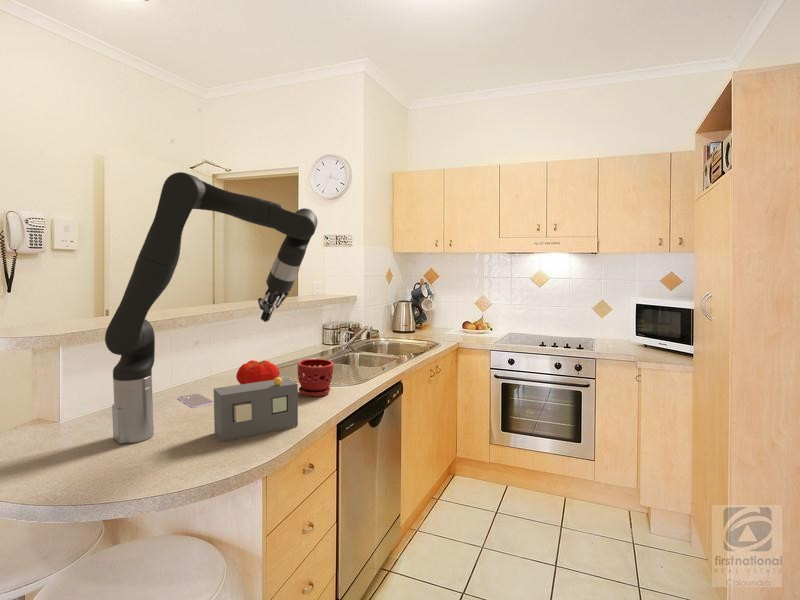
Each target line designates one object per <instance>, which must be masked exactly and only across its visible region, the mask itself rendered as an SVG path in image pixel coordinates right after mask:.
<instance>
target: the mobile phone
mask: <svg viewBox="0 0 800 600" xmlns="http://www.w3.org/2000/svg"><path fill="white" fill-rule="evenodd" d="M178 399H179V400H178ZM177 400H178V401H180V400H181V401H180V402H182V403H184V404H185V403H186V404H185V405H187V406H189V407H190V406H191V407H190V408H192V409H196V408H197V407H198V408H202V407H206V406H207V407H208V406H211V405H214V400H211V399H210V398H208V397H205V396H204V395H202V394H200V393H194V394H193V393H192V394H188V395H183V396H179V397H177ZM205 405H206V406H205ZM201 406H202V407H201Z"/></svg>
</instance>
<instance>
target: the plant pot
mask: <svg viewBox="0 0 800 600" xmlns="http://www.w3.org/2000/svg"><path fill="white" fill-rule="evenodd" d="M333 375H334V362H333V361H331V360H328V359H324V358H323V359H322V358H309V359H308V358H306V359H302V360H300V361H298V362H297V378H298V382H299V385H300V386H299V387H298V391H299V393H300V395H303V396H306V397H312V396H314V397H321V396H324V395H327V394H329V392H331V387H330V385H331V383H332V380H333Z"/></svg>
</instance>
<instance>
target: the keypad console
mask: <svg viewBox="0 0 800 600" xmlns="http://www.w3.org/2000/svg"><path fill="white" fill-rule="evenodd" d="M298 391H299V386H298V383H297V382H295V381H293V380H292V379H290V378H288V377H284V378H281V377H280V376H279V377H276V378H275V379H274V380H269V381H262V382H255V383H248V384H235V385H229V386H221V387H215V388H213V401H214V404H213V417H214V418H213V420H214V425H213V426H214V434H215V435H216V436H217V438H218V439H219V440H220V441H221V443H223V442H228V441H232V440H237V439H243V438H247V437H253V436H257V435H262V434H267V433H271V431H272V432H277V431H281V430H285V429H284V428H286V429H290V428H289V427H291V428H294V427H293V426H296V427H298V426H299V412H298V411H299V410H298V409H299V407H298V405H299V403H298V401H299V399H298V398H299V397H298V395H299V393H298ZM280 396H286V397H287V410H286V411H280V412H275V413H272V398H274V397H280ZM244 402H249V403H250V404H251V405H252V420H247V421H242V422H235V421H234V420H233V407H232V404H238V403H244ZM297 425H298V426H297ZM276 430H277V431H276ZM252 435H253V436H252Z"/></svg>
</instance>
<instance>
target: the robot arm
mask: <svg viewBox="0 0 800 600" xmlns="http://www.w3.org/2000/svg"><path fill="white" fill-rule="evenodd" d="M193 210H202V211H203V210H204V211H210V212H215V213H221V214H224V215H228V216H231V217H233V218H236V219H239V220H241V221H245V222H248V223H251V224H254V225H258V226H262V227H265V228H269V229H274V230H276V231H277V232H278V233H282V234H283V235H285V238H284V240H283V241H282V243H281V245H280V247H279V250H278V253H277V256H276V257H275V258H274V260H273V262H272V266H271V268H270V270H269V273H268V276H267V278H266V280H265V282H266V285H267V287H268V288H267V290H266V291H265V293H264V296H263V297H262V298H261V297H259V298H258V299H257V302H258V306H259V309H260V310H262V314H261V316H260V320H261V321H263V322H264V323H266V322H269V321H270V319H271V317H272V315H273V312H275V310H276V309H278V308H280V306H281V305H282V303H283V302H284V301H285V300H286V299H287V297H288V296H289V294H290V293H289V292H291V290H292V288H293V287H294V284H295V281H296V278H297V276H298V274H299V271H300V268H301V267H300V266H302V262H303V260H304V257H305V255H306V251H307V248H308V245H309V243H310V240H311V238H312V237H313V236H314V234H315V233H316V229H317V227H318V217H317V214H316V213H315V211H313V210H312V209H310V208H307V207H305V208H304V207H303V208H300V209H298V210H297V211H295V212H292V211H290V210H287V209H285V208H284V206H283V205H282V204H279V203H277V202H274V201H270V200H267V199H263V198H259V197H255V196H251V195H246V194H241V193H235V192H231V191H228V190H225V189H222V188H219V187H218V186H214V185H212V184H210V183H207V182H206V181H203V180H201V179H199V178H198V177H197V176H195V175H192V174H191V173H187V172H182V171H179V172H175V173H172V174H171V175H169V176H167V178H166V179H165V180H164V183H163V185H162V188H161V192H160V195H159V201H158V204H157V209H156V212H155V216H154V218H153V221H152V224H151V226H149V227H150V228H149V230H148V232H147V235H146V237H145V240H144V242H143V245H142V246H141V249H140V252H139V254H138V256H137V258H136V261H135V265H134V267H133V270H132V273H131V275H130V277H129V280H128V283H127V286H126V289H125V290H124V293H123V296H122V299H121V301H120V303H119V305H118V306H117V309H116V311H115V313H114V315H113V316H112V318H111V320H110V322H109V324H108V326H107V329H106V331H105V335H104V342H105V345H106V348H107V349H108V351H109V352H110V353H111V354H114V355H118V356H120V359H119V360H118V363H117V364H116V365H115V366H114V367H113V369H112V382H113V383H112V385H113V404H112V405H111V413H112V416H111V417H112V437H113V440H114V441H115V442H116V443H117V444H118V445H123V444H134V443H138V442H139V443H140V442H143V441H145V440H148V439H150V438H152V437H153V436H154V434H155V432H154V430H155V429H154V428H155V427H154V406H153V405H154V403H153V402H154V401H153V398H154V397H153V375H152V374H153V373H152V370H153V366H154V364H155V354H156V353H155V351H156V350H155V349H156V348H155V347H156V344H155V343H156V341H155V340H156V338H155V337H156V336H155V330H154V327H153V326H152V323H151V322H150V321H148V320H147V319H146V317H147V315H148V313H149V312H150V309H151V308H152V306H153V304H154V303H155V302H156V301H157V300H158V299H159V298H160V296H161V295H162V294H163V292H164V291H165V289H167V287H168V286H169V284H170V282H171V281H172V278H173V275H174V273H175V271H176V268H177V266H178V263H179V259H180V254H181V247H182V236H183V231H184V228H185V225H186V223H187V221H188V219H189V217H190V215H191V212H192V211H193Z"/></svg>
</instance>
